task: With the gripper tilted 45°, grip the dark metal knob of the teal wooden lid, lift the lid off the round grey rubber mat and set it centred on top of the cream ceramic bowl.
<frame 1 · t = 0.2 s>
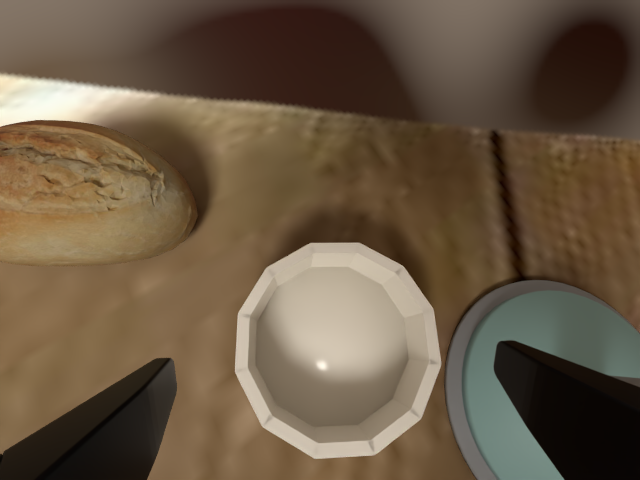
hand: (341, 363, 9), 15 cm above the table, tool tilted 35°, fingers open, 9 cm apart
bread roll: (108, 219, 25), on the table
lid: (565, 398, 22), resting on mat
mat: (559, 397, 23), on the table
bowl: (331, 340, 23), on the table
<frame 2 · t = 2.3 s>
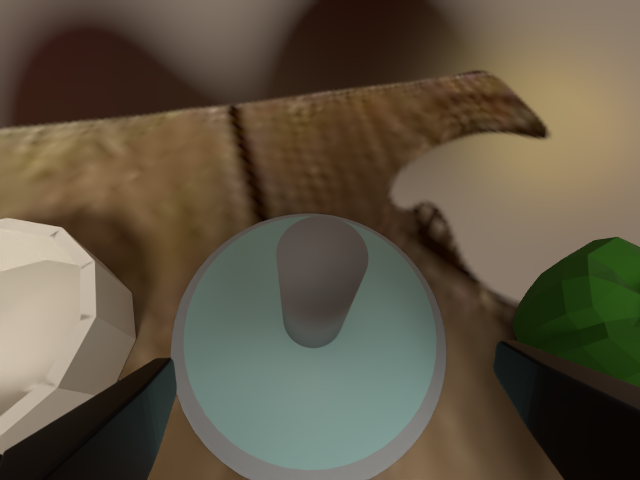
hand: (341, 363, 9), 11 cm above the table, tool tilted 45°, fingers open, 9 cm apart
lid: (312, 322, 20), resting on mat
mat: (312, 324, 20), on the table
bowl: (24, 348, 19), on the table
bell pepper: (550, 348, 21), on the table
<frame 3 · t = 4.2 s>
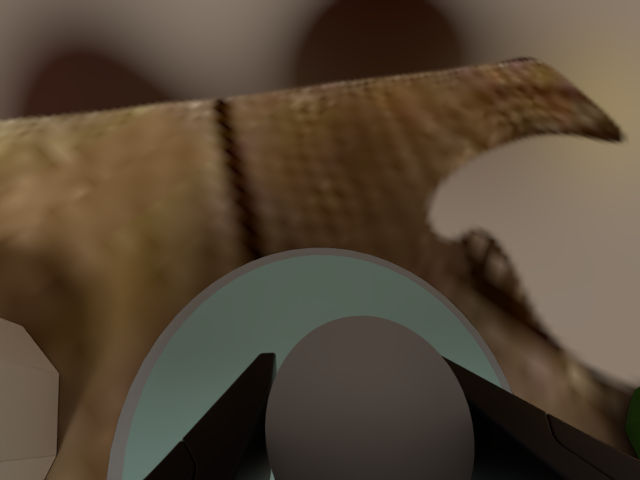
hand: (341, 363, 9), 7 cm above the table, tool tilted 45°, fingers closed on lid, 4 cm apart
lid: (327, 425, 13), resting on mat, touching gripper
mat: (326, 425, 14), on the table
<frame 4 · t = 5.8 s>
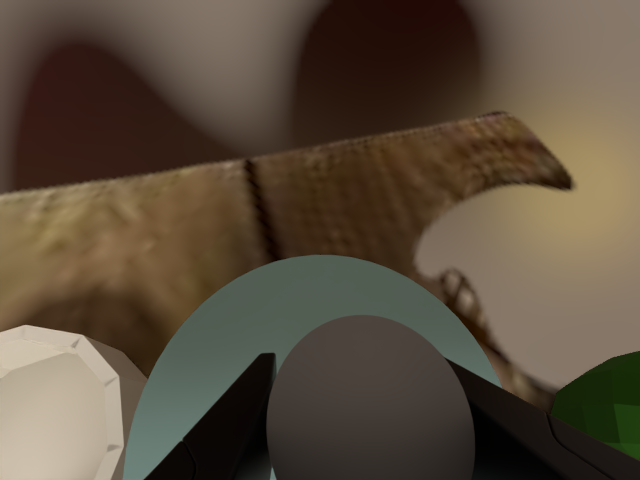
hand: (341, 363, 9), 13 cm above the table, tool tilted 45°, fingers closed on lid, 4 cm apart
lid: (327, 424, 13), point 7 cm above the table, touching gripper
bowl: (45, 456, 18), on the table
bell pepper: (588, 440, 20), on the table
when the fingers open (11 cm above the table, at t = 7.6 s): lid stays where it is, resting on bowl.
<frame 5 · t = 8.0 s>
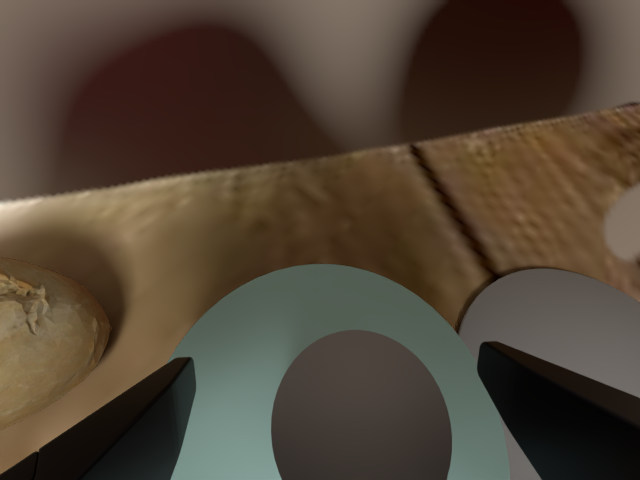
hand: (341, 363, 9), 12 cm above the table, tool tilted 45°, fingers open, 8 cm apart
lid: (325, 425, 14), point 4 cm above the table, touching bowl
mat: (590, 395, 20), on the table
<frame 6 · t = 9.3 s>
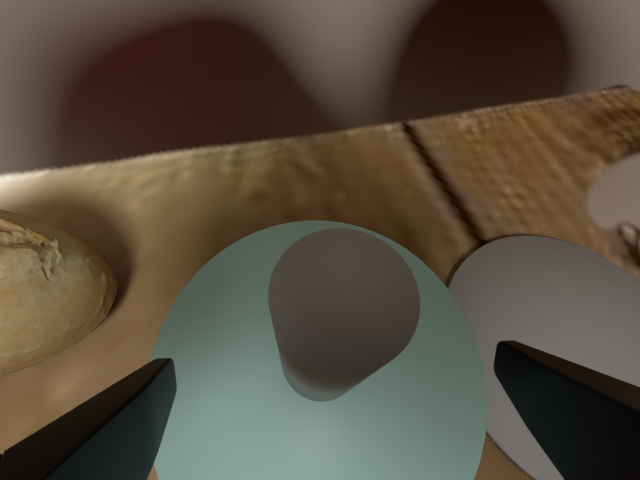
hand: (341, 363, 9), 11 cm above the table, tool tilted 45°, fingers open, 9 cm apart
bread roll: (0, 325, 20), on the table
lid: (319, 361, 15), point 4 cm above the table, touching bowl
mat: (569, 348, 21), on the table
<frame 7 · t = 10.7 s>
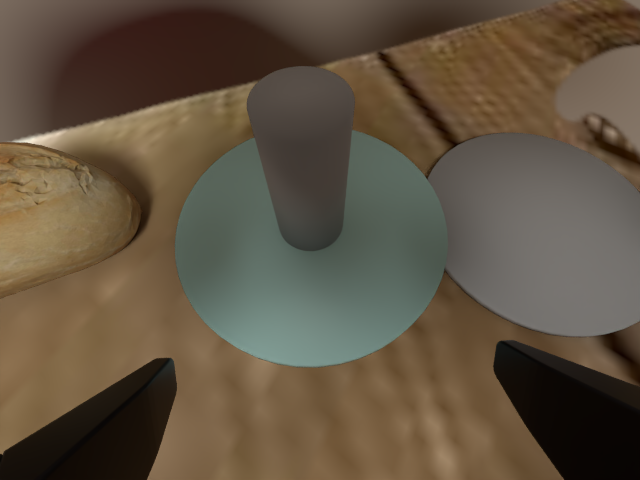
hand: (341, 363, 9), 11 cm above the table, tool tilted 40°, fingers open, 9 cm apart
bread roll: (51, 252, 24), on the table
lid: (311, 230, 19), point 4 cm above the table, touching bowl
mat: (535, 220, 24), on the table
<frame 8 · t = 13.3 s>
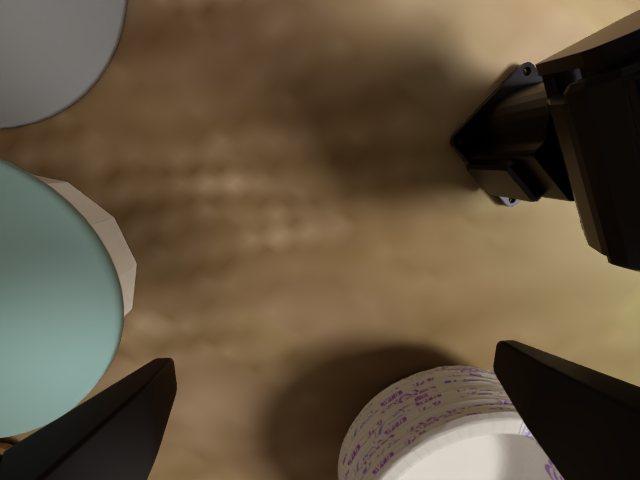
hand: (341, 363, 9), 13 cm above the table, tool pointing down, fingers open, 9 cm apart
bowl: (35, 269, 20), on the table
paper bowls: (422, 420, 26), on the table
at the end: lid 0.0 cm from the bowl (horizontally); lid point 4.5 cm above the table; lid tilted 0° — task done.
